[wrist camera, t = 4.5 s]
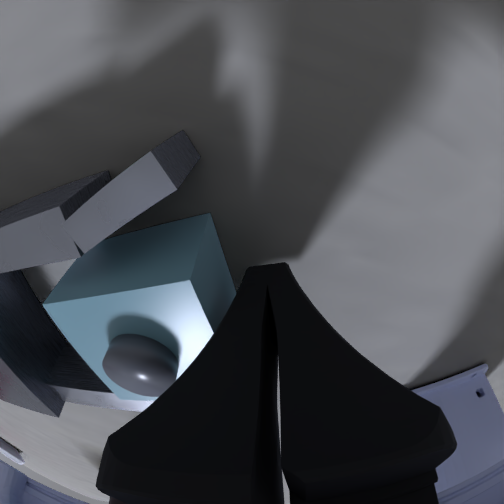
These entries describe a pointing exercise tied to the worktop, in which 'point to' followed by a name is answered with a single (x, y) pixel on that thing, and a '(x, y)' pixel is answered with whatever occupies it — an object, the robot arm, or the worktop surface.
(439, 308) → the worktop surface
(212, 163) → the worktop surface
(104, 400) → the motor dock
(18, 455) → the tray
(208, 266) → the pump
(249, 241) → the worktop surface
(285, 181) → the worktop surface
